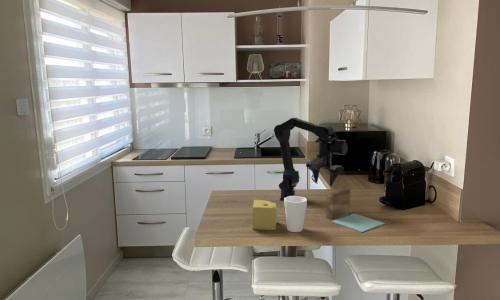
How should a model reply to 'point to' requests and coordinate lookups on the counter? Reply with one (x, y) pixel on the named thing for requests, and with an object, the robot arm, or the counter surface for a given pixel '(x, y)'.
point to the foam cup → (295, 212)
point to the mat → (358, 222)
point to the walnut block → (338, 203)
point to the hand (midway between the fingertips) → (323, 183)
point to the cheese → (264, 215)
